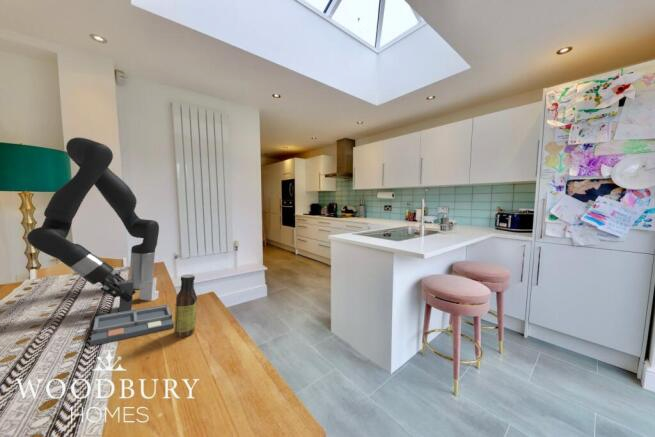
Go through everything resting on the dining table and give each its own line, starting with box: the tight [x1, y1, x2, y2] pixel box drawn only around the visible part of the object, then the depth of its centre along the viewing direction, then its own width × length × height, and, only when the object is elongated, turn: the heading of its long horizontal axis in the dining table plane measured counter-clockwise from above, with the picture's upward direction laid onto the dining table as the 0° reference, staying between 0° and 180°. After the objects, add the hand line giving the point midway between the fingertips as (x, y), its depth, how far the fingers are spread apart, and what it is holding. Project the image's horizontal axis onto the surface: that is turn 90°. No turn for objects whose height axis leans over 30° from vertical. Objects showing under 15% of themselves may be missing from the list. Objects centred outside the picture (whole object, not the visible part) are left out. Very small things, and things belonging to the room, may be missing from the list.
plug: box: [118, 276, 134, 312], centre depth 91 cm, size 4×4×13 cm
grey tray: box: [89, 304, 175, 347], centre depth 81 cm, size 18×21×3 cm
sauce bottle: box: [173, 273, 198, 338], centre depth 79 cm, size 6×6×20 cm
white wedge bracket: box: [138, 276, 160, 302], centre depth 102 cm, size 4×10×9 cm, turn 85°
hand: (131, 296), depth 92 cm, fingers open, 5 cm apart
